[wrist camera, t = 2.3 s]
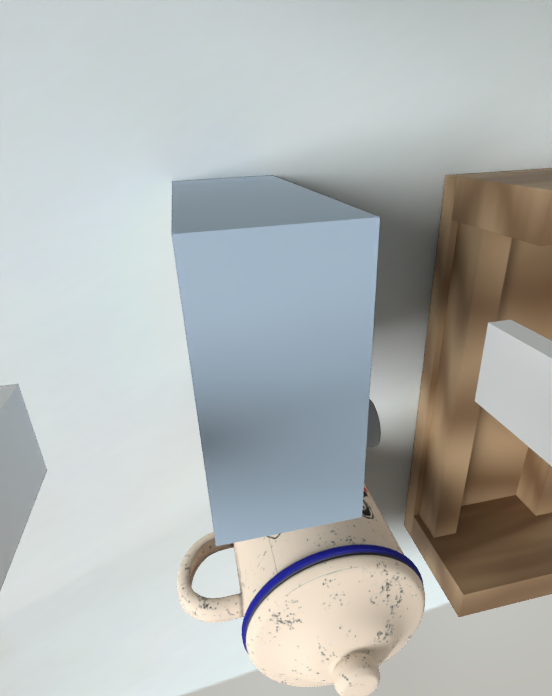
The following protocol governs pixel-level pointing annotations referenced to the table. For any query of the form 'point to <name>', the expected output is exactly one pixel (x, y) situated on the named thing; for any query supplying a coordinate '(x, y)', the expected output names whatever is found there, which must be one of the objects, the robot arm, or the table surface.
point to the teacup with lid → (317, 600)
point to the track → (460, 390)
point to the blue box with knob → (278, 349)
